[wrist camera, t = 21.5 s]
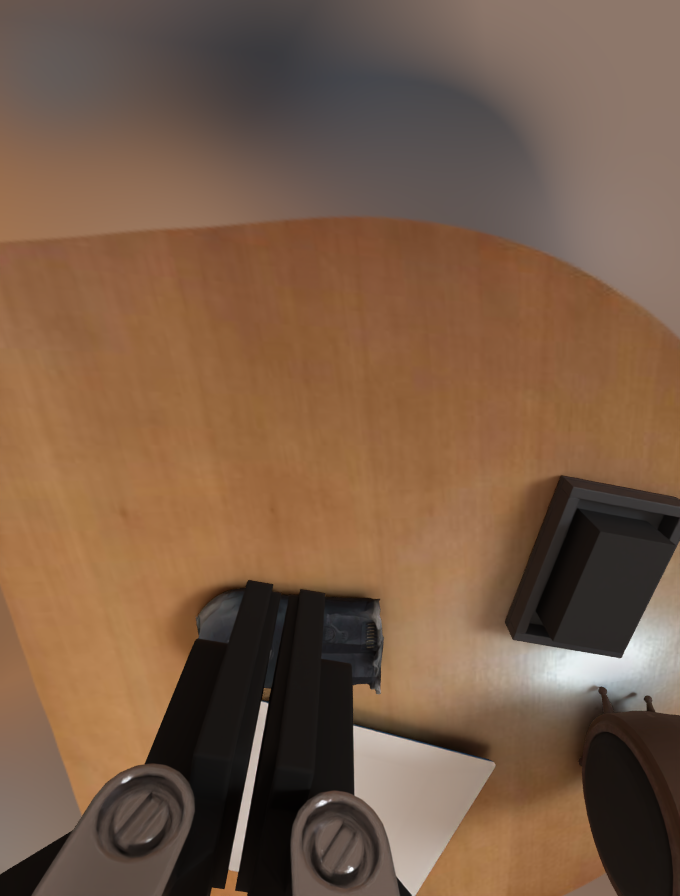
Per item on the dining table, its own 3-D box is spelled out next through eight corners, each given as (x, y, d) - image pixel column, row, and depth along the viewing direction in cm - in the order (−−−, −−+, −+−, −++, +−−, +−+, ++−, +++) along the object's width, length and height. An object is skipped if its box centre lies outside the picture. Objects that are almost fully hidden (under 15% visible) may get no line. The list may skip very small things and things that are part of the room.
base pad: (560, 475, 36) (573, 486, 34) (676, 497, 37) (695, 510, 35) (504, 622, 41) (512, 640, 39) (608, 640, 41) (621, 658, 39)
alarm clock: (581, 661, 42) (772, 977, 23) (666, 664, 42) (925, 982, 23) (552, 781, 47) (689, 1121, 28) (627, 783, 47) (815, 1125, 28)
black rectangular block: (577, 507, 36) (600, 531, 33) (647, 520, 37) (676, 545, 33) (535, 611, 40) (552, 641, 36) (599, 622, 40) (622, 653, 37)
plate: (259, 683, 43) (255, 702, 41) (491, 744, 46) (498, 766, 44) (202, 842, 51) (196, 865, 49) (404, 888, 53) (406, 912, 51)
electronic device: (375, 567, 41) (190, 583, 39) (390, 618, 36) (179, 639, 34) (371, 645, 45) (204, 663, 43) (384, 700, 40) (196, 723, 38)
